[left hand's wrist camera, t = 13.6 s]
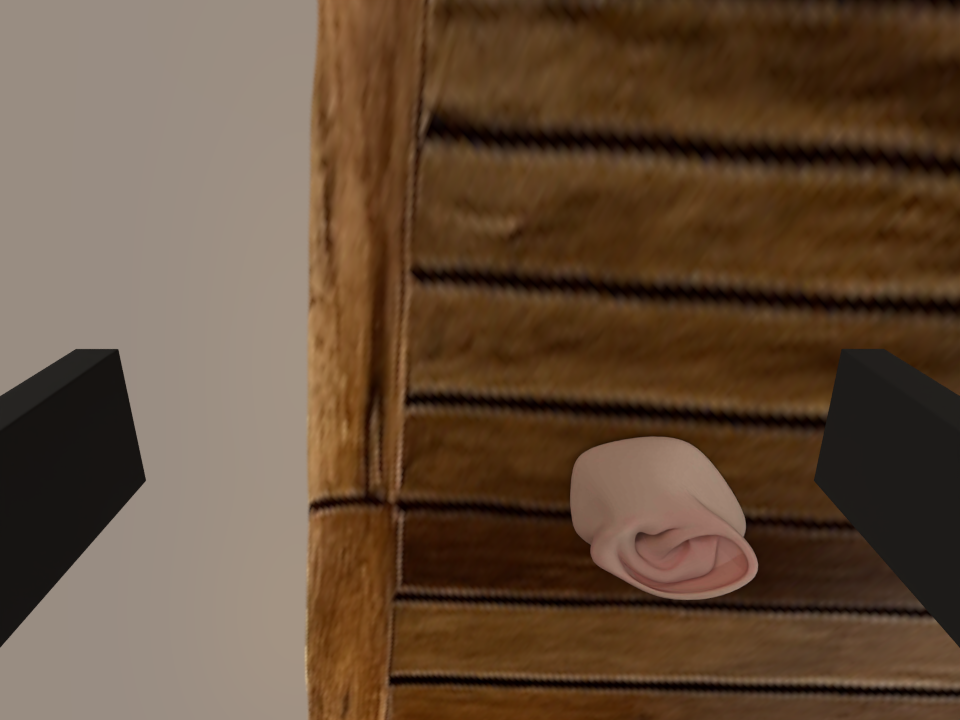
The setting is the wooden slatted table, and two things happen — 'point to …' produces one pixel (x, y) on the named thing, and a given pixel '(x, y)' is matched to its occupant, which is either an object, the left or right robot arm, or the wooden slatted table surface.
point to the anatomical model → (661, 518)
